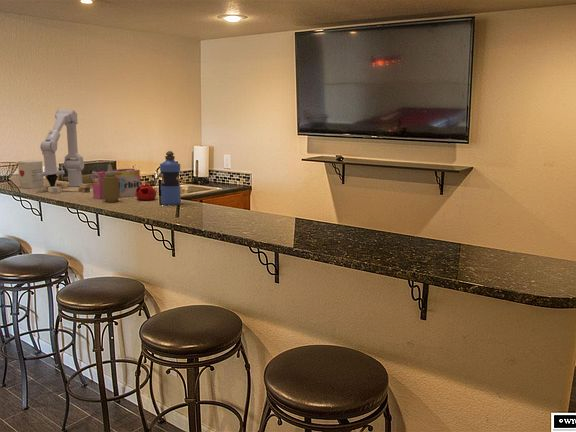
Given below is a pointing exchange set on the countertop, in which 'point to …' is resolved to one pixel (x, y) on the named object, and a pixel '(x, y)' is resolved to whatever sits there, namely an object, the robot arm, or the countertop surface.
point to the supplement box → (30, 174)
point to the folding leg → (49, 188)
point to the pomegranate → (145, 192)
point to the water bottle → (170, 181)
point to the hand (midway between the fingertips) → (52, 188)
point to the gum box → (126, 181)
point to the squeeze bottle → (110, 186)
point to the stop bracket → (55, 191)
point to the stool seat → (76, 188)
